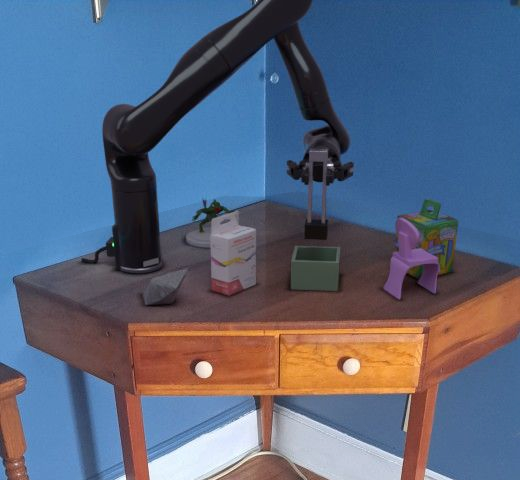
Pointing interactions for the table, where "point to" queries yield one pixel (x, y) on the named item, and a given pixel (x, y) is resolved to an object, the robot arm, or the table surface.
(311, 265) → the holder
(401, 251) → the toy chair
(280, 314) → the table surface
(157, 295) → the grey faceted pointed rock
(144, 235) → the robot arm
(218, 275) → the ink cartridge box
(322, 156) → the tall two-post stand
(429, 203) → the chalk box
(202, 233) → the monster figurine
